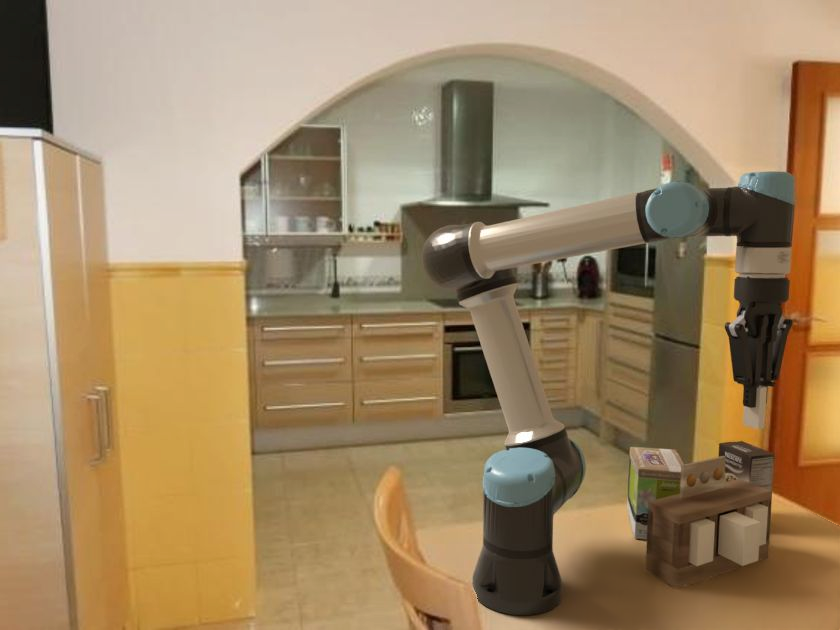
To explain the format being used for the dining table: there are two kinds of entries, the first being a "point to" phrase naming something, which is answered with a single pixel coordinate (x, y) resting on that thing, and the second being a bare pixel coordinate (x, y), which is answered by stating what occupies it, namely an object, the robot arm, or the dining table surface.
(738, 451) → the coffee box
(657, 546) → the console
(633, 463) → the tea box
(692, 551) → the left button
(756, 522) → the middle button
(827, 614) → the dining table surface
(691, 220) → the robot arm
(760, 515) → the right button
